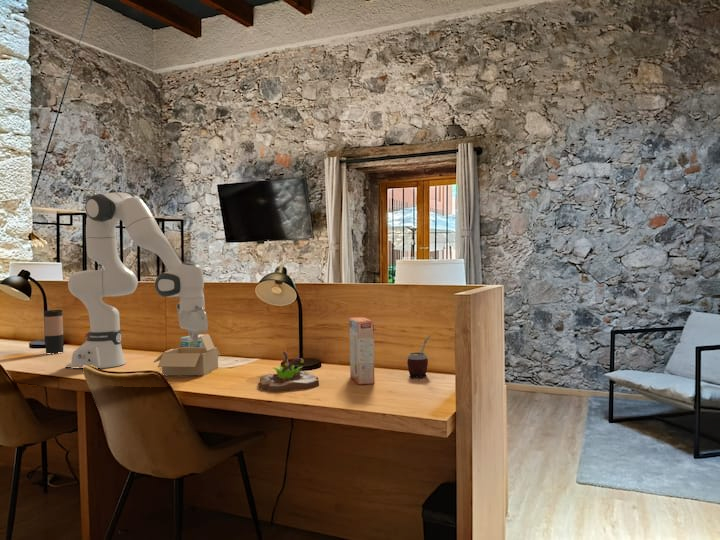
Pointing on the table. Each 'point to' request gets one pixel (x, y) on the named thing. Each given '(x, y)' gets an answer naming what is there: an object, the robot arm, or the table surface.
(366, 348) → the cracker box
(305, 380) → the plant
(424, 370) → the mate gourd
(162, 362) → the flap
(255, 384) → the table surface
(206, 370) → the carton
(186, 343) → the light bulb box
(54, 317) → the travel mug
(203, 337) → the flap
